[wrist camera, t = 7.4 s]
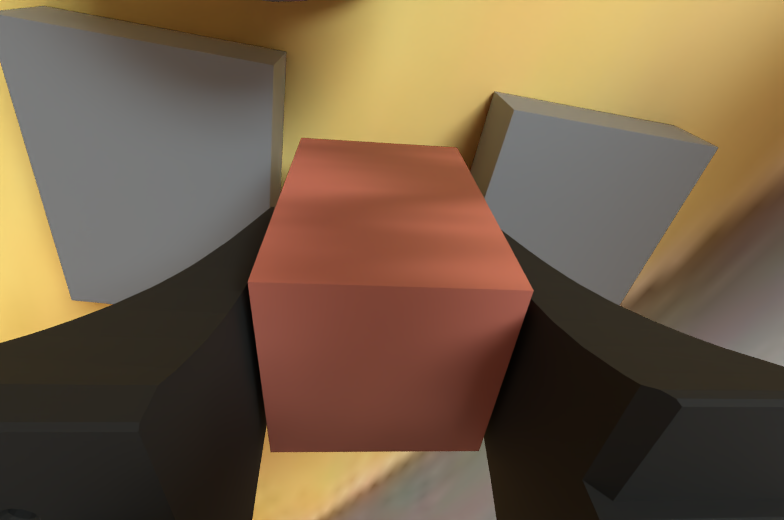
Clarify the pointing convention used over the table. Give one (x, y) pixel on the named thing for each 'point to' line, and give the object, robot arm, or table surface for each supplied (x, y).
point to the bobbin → (283, 0)
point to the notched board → (264, 156)
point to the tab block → (383, 302)
